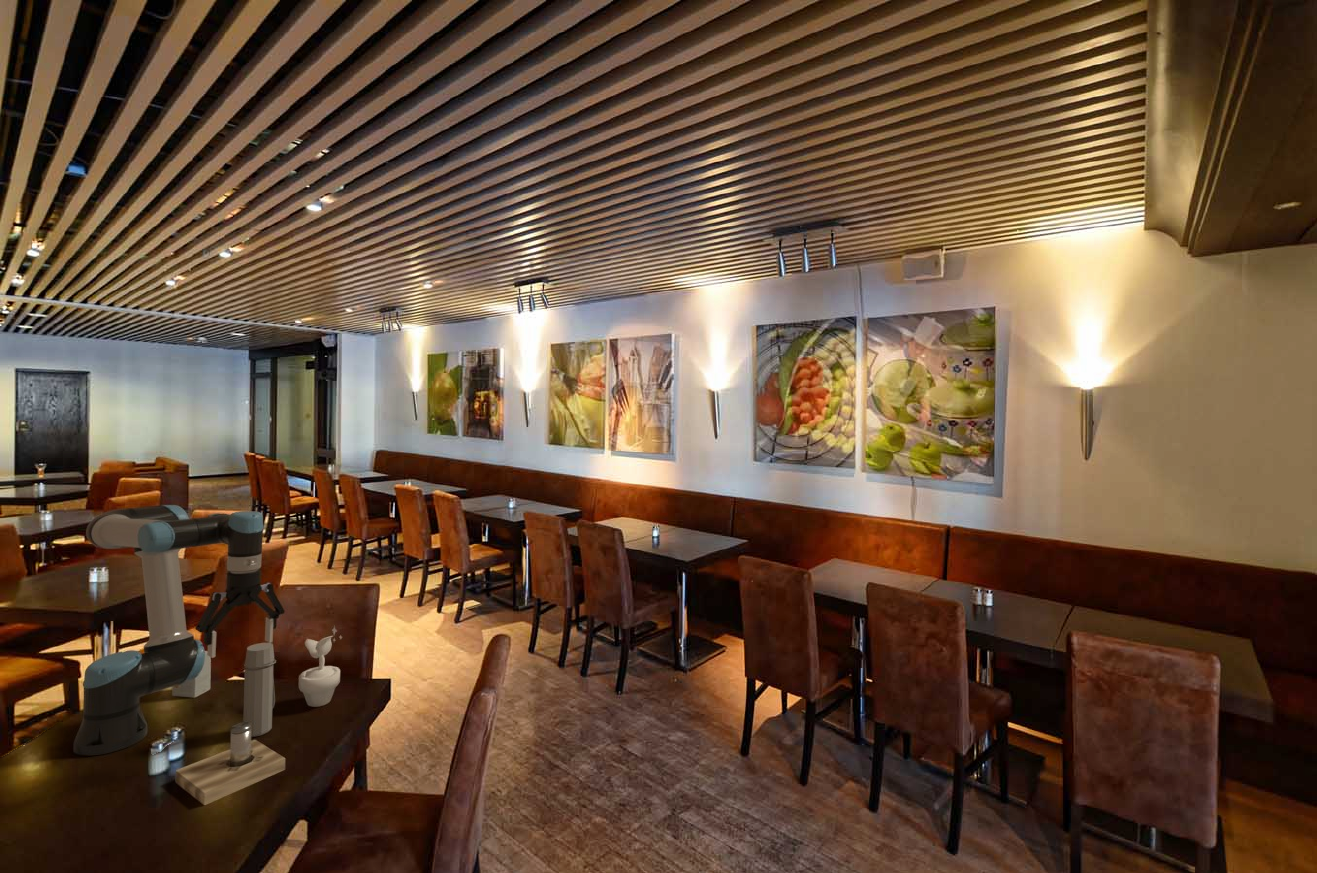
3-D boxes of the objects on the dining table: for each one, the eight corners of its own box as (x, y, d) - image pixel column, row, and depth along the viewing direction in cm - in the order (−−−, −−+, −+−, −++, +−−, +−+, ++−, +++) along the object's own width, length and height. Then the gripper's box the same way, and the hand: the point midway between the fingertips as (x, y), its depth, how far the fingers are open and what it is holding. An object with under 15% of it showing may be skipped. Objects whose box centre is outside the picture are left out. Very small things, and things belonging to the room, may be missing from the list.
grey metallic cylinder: (226, 773, 153) (227, 727, 153) (245, 765, 157) (246, 720, 157) (234, 779, 151) (235, 732, 151) (253, 771, 155) (254, 725, 155)
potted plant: (346, 701, 194) (349, 625, 194) (310, 715, 185) (312, 635, 184) (325, 690, 201) (327, 617, 201) (289, 703, 191) (291, 626, 191)
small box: (210, 689, 199) (211, 650, 199) (194, 698, 193) (195, 658, 192) (188, 687, 200) (189, 649, 200) (171, 696, 193) (172, 656, 193)
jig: (175, 782, 149) (175, 770, 149) (254, 750, 164) (254, 739, 164) (204, 805, 140) (204, 793, 140) (285, 769, 156) (285, 758, 156)
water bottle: (258, 740, 169) (260, 652, 169) (234, 736, 171) (237, 649, 170) (284, 724, 178) (286, 641, 178) (262, 721, 180) (264, 638, 179)
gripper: (194, 582, 147) (191, 667, 147) (300, 564, 168) (296, 639, 168) (181, 576, 151) (178, 658, 151) (286, 559, 172) (283, 632, 172)
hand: (241, 648), depth 160 cm, fingers open, 13 cm apart
